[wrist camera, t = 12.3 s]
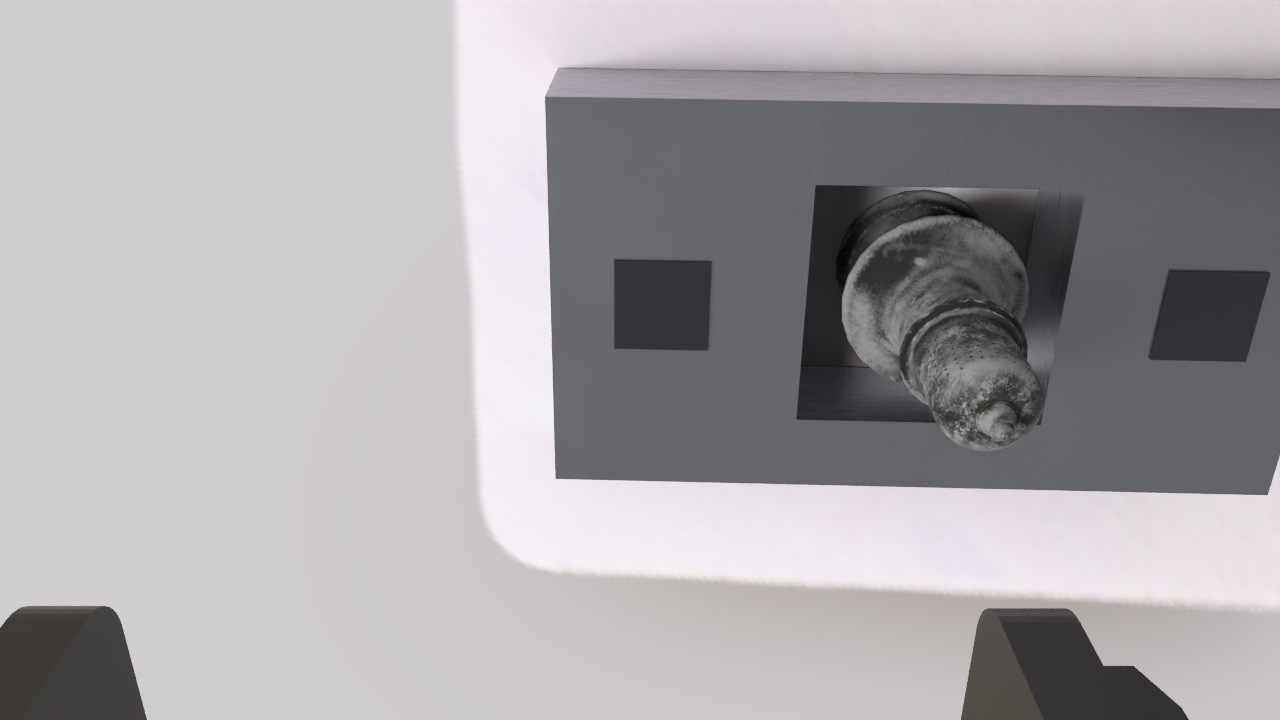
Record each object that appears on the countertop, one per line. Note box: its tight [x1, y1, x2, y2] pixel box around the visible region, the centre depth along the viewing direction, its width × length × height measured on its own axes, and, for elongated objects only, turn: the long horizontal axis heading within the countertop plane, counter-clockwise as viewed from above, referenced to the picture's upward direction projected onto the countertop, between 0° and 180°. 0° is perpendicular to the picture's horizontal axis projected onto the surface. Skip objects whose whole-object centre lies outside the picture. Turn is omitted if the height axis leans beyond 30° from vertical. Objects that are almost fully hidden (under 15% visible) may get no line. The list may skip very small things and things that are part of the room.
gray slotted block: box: [545, 68, 1280, 495], centre depth 37 cm, size 24×13×4 cm, turn 89°
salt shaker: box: [837, 190, 1044, 451], centre depth 33 cm, size 6×6×12 cm
